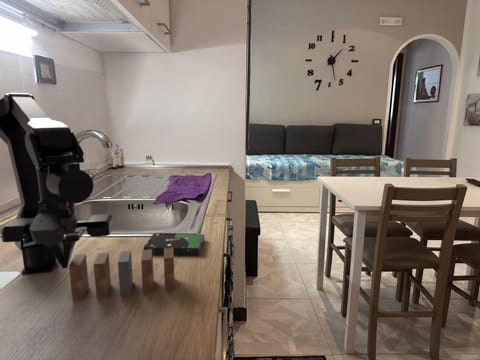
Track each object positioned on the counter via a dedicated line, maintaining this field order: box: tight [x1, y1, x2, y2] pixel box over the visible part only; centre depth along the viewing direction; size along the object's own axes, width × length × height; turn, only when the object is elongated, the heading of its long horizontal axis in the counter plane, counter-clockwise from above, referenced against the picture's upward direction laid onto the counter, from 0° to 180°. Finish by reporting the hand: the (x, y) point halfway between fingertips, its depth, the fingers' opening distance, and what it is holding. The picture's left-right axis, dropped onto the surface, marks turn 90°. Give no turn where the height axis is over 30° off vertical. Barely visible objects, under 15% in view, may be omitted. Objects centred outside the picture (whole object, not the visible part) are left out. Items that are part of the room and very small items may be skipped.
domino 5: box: [163, 248, 176, 292], centre depth 72 cm, size 2×5×8 cm, turn 12°
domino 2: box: [93, 252, 112, 299], centre depth 69 cm, size 2×5×8 cm, turn 12°
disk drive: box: [143, 232, 205, 257], centre depth 92 cm, size 10×3×15 cm
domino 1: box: [68, 253, 90, 302], centre depth 68 cm, size 2×5×8 cm, turn 12°
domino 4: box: [140, 249, 155, 294], centre depth 71 cm, size 2×5×8 cm, turn 12°
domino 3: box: [117, 250, 134, 297], centre depth 70 cm, size 2×5×8 cm, turn 12°
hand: (65, 267), depth 67 cm, fingers closed
